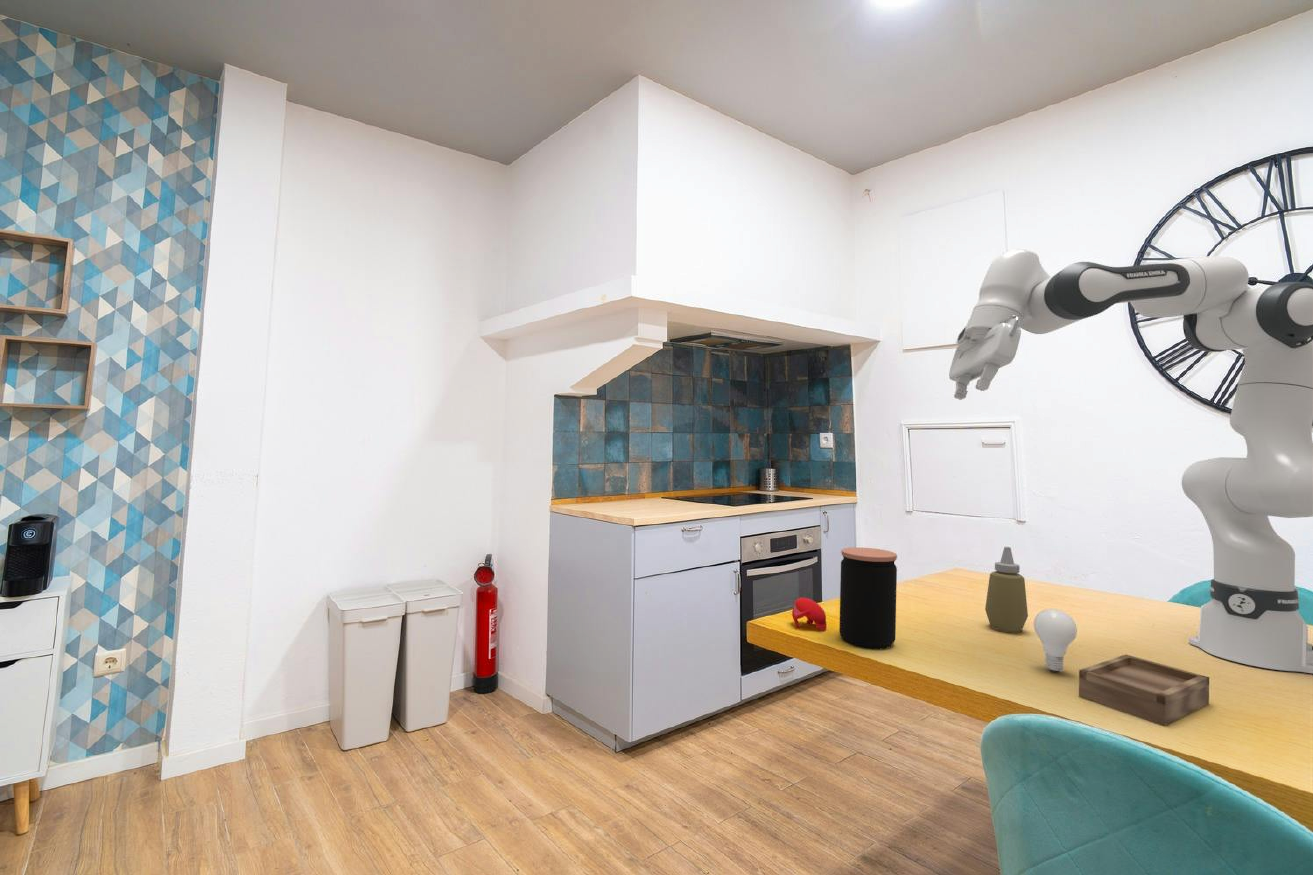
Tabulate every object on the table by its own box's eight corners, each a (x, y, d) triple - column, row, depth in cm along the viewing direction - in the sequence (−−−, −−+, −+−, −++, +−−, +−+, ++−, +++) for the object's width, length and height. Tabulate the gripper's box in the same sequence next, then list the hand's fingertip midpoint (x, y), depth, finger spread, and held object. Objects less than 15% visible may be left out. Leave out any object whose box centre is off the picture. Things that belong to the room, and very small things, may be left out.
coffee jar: (903, 641, 118) (905, 552, 118) (882, 654, 110) (884, 559, 110) (852, 629, 125) (854, 545, 125) (829, 640, 117) (831, 551, 117)
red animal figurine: (782, 610, 126) (801, 602, 122) (794, 597, 131) (813, 588, 127) (805, 642, 125) (825, 634, 121) (816, 627, 129) (836, 619, 125)
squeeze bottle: (1034, 636, 123) (1035, 551, 123) (992, 633, 125) (994, 549, 125) (1018, 625, 131) (1020, 545, 131) (979, 622, 133) (981, 543, 133)
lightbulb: (1077, 681, 99) (1078, 616, 100) (1033, 672, 103) (1034, 610, 103) (1074, 669, 105) (1075, 608, 105) (1032, 661, 108) (1033, 602, 108)
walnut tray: (1125, 678, 101) (1125, 654, 101) (1208, 703, 92) (1209, 677, 92) (1078, 696, 93) (1079, 669, 93) (1164, 725, 84) (1165, 696, 84)
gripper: (1038, 317, 104) (1014, 389, 103) (983, 347, 124) (962, 408, 123) (1003, 306, 104) (978, 377, 103) (954, 338, 125) (933, 397, 124)
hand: (969, 394), depth 113 cm, fingers open, 8 cm apart
